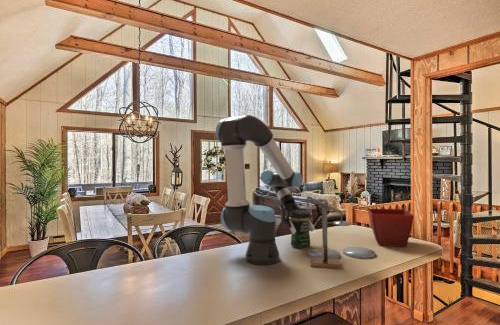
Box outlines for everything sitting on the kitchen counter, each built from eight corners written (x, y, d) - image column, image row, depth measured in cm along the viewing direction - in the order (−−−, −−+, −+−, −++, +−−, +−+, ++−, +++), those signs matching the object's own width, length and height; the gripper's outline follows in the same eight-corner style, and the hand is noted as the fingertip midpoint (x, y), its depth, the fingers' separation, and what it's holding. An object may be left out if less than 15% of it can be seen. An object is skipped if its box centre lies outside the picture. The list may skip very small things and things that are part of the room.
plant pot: (372, 246, 143) (371, 213, 143) (368, 237, 161) (367, 208, 162) (414, 249, 138) (414, 215, 138) (405, 239, 156) (404, 209, 156)
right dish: (344, 257, 127) (344, 254, 127) (341, 248, 140) (341, 246, 140) (378, 259, 124) (378, 256, 124) (371, 250, 137) (371, 247, 137)
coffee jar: (297, 249, 140) (296, 212, 140) (288, 245, 147) (288, 209, 148) (313, 247, 144) (312, 210, 144) (304, 243, 151) (303, 208, 151)
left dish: (308, 259, 125) (308, 256, 125) (308, 250, 139) (308, 247, 139) (341, 260, 122) (341, 258, 122) (338, 251, 136) (338, 249, 136)
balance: (300, 266, 116) (299, 196, 117) (300, 260, 123) (299, 195, 124) (352, 269, 112) (351, 197, 113) (350, 263, 119) (348, 195, 120)
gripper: (299, 201, 165) (318, 232, 151) (265, 203, 154) (281, 238, 140) (305, 192, 160) (325, 224, 146) (270, 194, 149) (288, 229, 135)
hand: (304, 231), depth 143 cm, fingers open, 11 cm apart
